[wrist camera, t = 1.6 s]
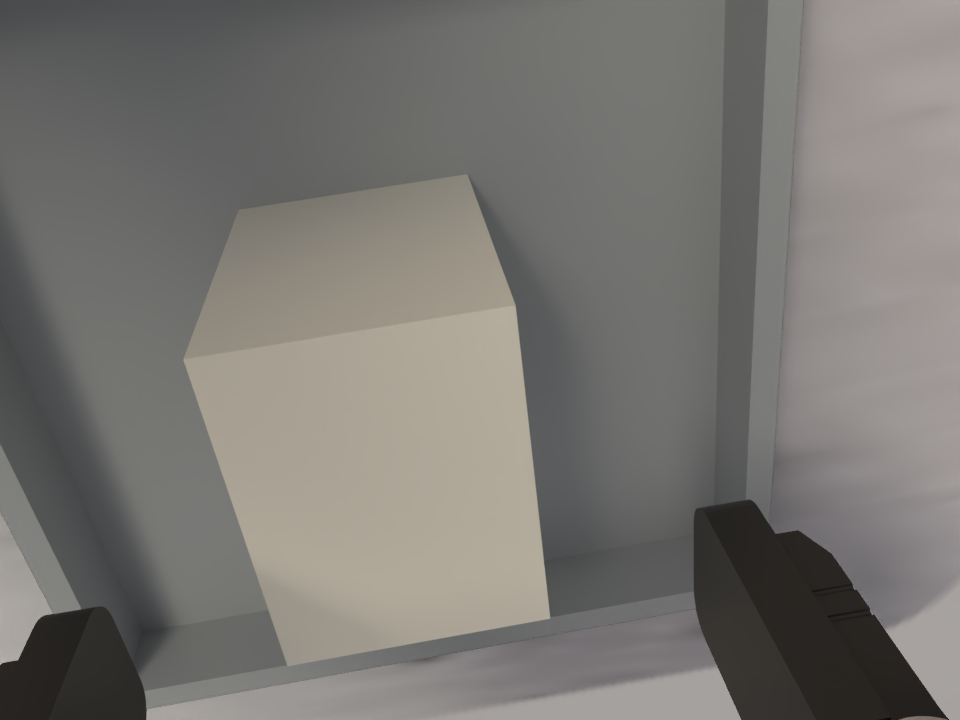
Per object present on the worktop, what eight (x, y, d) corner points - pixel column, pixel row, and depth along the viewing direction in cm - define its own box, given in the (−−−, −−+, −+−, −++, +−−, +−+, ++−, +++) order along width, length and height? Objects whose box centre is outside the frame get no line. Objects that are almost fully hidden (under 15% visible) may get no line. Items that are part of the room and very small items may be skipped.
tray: (-177, -31, 14) (-273, -16, 12) (749, -161, 15) (814, -168, 13) (130, 635, 22) (106, 716, 20) (726, 529, 23) (765, 596, 21)
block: (238, 209, 17) (183, 360, 11) (467, 174, 17) (515, 305, 12) (307, 457, 20) (287, 666, 14) (500, 424, 20) (550, 619, 15)
